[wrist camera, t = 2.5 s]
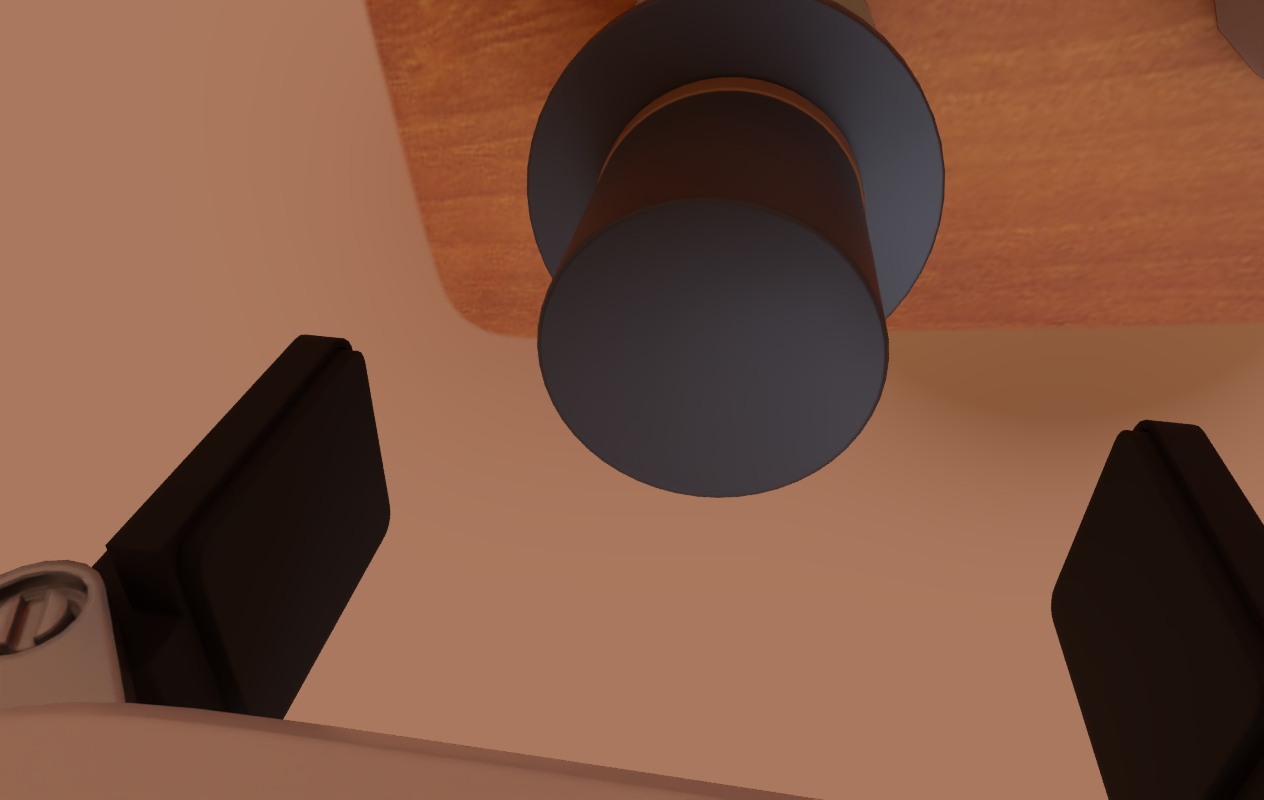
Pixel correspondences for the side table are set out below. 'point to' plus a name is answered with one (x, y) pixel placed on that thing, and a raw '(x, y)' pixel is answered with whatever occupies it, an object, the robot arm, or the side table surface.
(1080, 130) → the side table surface
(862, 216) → the hat
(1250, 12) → the cup
